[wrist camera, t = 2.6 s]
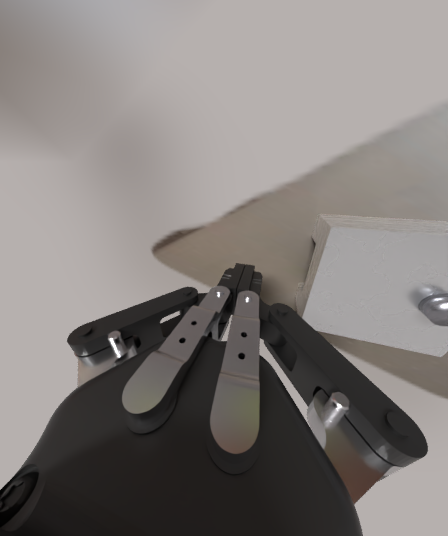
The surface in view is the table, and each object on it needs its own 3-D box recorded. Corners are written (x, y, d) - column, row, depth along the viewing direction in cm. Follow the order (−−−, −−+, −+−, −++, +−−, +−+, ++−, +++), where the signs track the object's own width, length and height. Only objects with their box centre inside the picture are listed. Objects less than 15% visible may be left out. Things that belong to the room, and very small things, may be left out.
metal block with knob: (470, 222, 12) (591, 252, 7) (403, 315, 16) (453, 370, 12) (317, 213, 14) (336, 231, 10) (295, 296, 19) (300, 335, 14)
